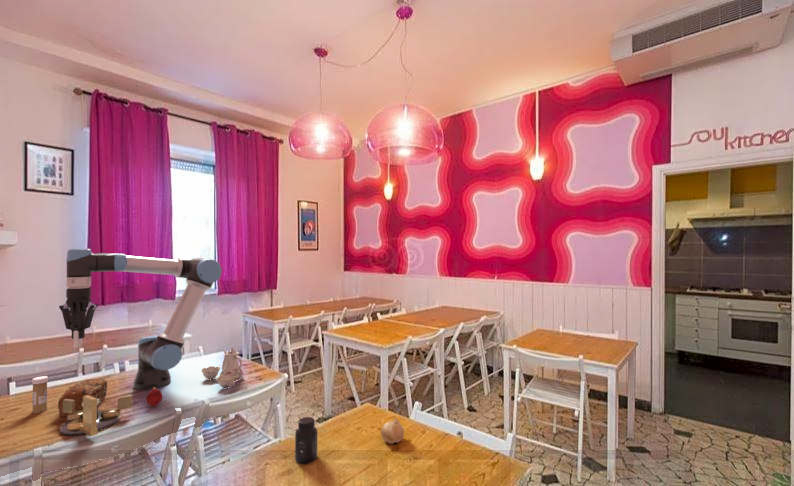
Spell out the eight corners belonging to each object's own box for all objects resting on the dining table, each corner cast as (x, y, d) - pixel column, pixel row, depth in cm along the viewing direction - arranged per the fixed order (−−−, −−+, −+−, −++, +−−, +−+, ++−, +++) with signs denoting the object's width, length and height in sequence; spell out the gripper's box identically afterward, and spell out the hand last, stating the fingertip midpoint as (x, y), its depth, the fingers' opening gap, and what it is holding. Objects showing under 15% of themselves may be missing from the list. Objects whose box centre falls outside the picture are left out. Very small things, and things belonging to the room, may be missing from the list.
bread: (89, 415, 149) (89, 389, 149) (55, 418, 146) (56, 392, 146) (108, 397, 167) (108, 374, 167) (78, 400, 164) (79, 376, 164)
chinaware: (195, 383, 188) (192, 350, 187) (227, 371, 202) (224, 340, 201) (225, 396, 172) (222, 361, 171) (258, 382, 185) (255, 349, 184)
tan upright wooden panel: (64, 428, 134) (64, 394, 134) (84, 421, 139) (85, 388, 139) (83, 439, 127) (84, 402, 127) (104, 431, 132) (104, 396, 132)
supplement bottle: (290, 461, 118) (290, 422, 118) (304, 450, 124) (304, 413, 124) (308, 466, 115) (308, 427, 115) (321, 455, 121) (321, 417, 121)
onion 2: (401, 448, 126) (402, 426, 126) (378, 445, 127) (378, 424, 128) (405, 436, 134) (405, 416, 134) (383, 434, 135) (383, 414, 135)
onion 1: (165, 405, 158) (165, 386, 158) (151, 410, 153) (151, 391, 153) (156, 402, 161) (156, 384, 161) (142, 408, 156) (143, 388, 156)
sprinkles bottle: (46, 411, 152) (46, 378, 152) (30, 414, 149) (30, 380, 149) (48, 407, 155) (48, 374, 155) (33, 410, 153) (33, 377, 153)
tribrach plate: (132, 407, 156) (133, 387, 156) (130, 425, 141) (130, 402, 141) (63, 420, 144) (63, 398, 144) (51, 441, 129) (52, 416, 129)
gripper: (53, 288, 147) (52, 349, 147) (89, 288, 148) (88, 348, 148) (68, 286, 154) (67, 344, 154) (102, 286, 155) (101, 343, 155)
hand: (77, 346), depth 151 cm, fingers closed
